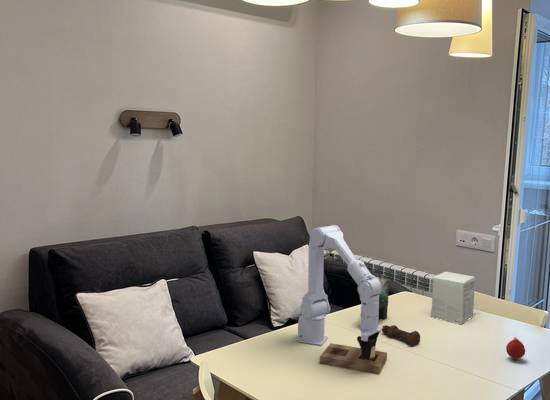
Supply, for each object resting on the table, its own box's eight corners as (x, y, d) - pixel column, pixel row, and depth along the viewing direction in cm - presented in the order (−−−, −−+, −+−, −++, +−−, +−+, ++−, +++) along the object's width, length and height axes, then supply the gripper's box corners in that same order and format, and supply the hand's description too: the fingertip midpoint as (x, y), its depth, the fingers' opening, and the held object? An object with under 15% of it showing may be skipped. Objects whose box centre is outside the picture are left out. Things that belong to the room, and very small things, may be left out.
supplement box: (474, 316, 219) (476, 276, 217) (461, 325, 209) (463, 283, 207) (443, 309, 228) (445, 270, 225) (430, 317, 218) (432, 276, 216)
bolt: (385, 337, 201) (417, 349, 189) (377, 334, 198) (409, 345, 186) (390, 323, 202) (422, 333, 190) (382, 319, 199) (414, 329, 187)
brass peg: (359, 365, 172) (360, 348, 171) (363, 360, 176) (364, 343, 175) (373, 368, 170) (373, 350, 169) (376, 362, 174) (377, 345, 173)
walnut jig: (319, 363, 173) (319, 356, 173) (330, 349, 184) (330, 343, 184) (379, 374, 166) (379, 366, 165) (387, 359, 177) (387, 352, 176)
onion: (523, 357, 178) (524, 335, 177) (525, 364, 173) (526, 341, 172) (504, 355, 180) (506, 333, 179) (506, 362, 175) (507, 339, 174)
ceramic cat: (378, 314, 221) (380, 269, 218) (393, 318, 217) (394, 271, 215) (357, 328, 205) (358, 279, 202) (372, 332, 201) (373, 282, 199)
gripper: (377, 323, 163) (375, 365, 164) (386, 309, 176) (385, 348, 178) (355, 320, 166) (354, 361, 167) (365, 306, 179) (364, 344, 180)
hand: (368, 354), depth 173 cm, fingers open, 6 cm apart
